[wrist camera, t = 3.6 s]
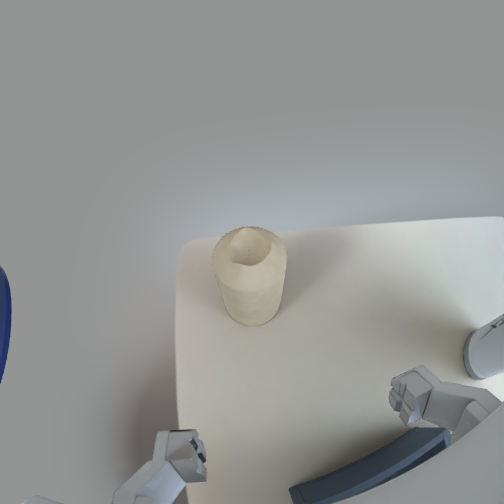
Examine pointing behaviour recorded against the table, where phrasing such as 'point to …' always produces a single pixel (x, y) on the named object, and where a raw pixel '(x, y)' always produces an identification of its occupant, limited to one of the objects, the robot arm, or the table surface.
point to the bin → (374, 467)
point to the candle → (250, 273)
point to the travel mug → (485, 350)
